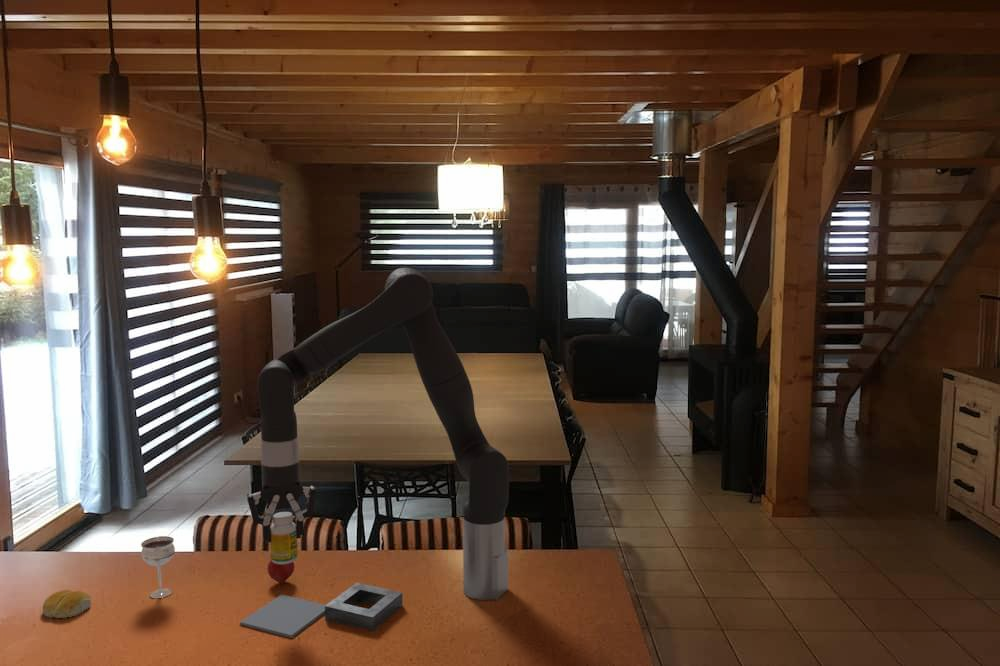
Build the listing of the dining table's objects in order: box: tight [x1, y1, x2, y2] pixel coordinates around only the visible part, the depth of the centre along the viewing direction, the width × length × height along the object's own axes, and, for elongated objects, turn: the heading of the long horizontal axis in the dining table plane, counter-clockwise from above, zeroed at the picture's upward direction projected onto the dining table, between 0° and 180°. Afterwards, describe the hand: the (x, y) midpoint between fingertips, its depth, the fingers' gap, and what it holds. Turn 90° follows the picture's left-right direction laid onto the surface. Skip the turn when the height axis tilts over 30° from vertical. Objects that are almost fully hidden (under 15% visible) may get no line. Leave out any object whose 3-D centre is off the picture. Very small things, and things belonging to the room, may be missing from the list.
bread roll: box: [42, 589, 92, 619], centre depth 166 cm, size 8×9×4 cm
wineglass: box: [140, 535, 176, 599], centre depth 172 cm, size 7×7×12 cm
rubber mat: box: [239, 594, 326, 639], centre depth 163 cm, size 13×13×1 cm
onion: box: [267, 559, 295, 584], centre depth 178 cm, size 6×6×8 cm
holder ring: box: [324, 582, 403, 632], centre depth 165 cm, size 12×12×3 cm
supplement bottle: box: [269, 511, 299, 564], centre depth 161 cm, size 5×5×10 cm
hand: (283, 538), depth 161 cm, fingers closed on supplement bottle, 5 cm apart
